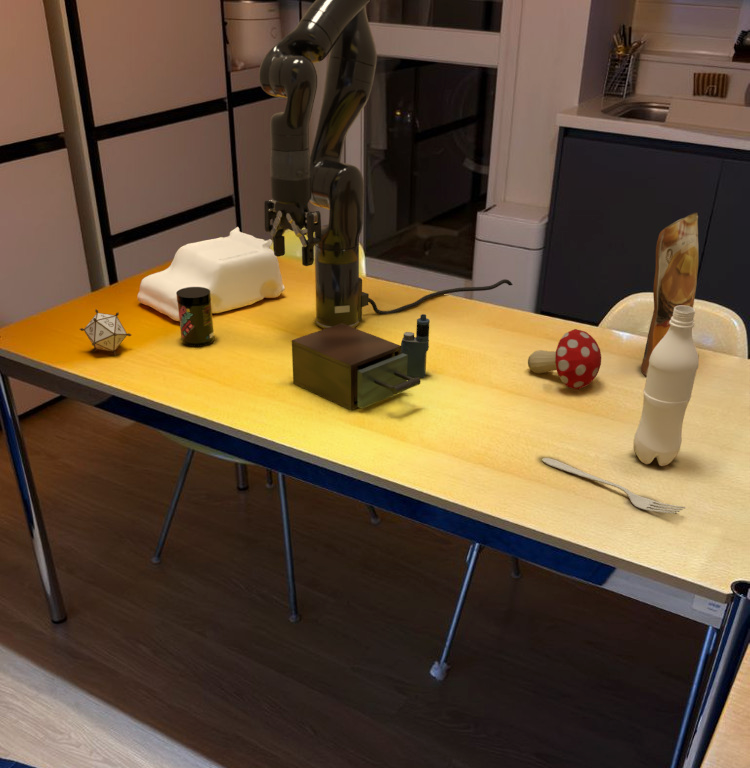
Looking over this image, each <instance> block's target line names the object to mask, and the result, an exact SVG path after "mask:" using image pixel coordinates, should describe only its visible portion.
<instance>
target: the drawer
mask: <svg viewBox="0 0 750 768" xmlns="http://www.w3.org/2000/svg"><path fill="white" fill-rule="evenodd" d="M407 361H408V355H406V354H404V353H402V354H400V355H397V356H395V353H392V354H389V355H386V356H384V357H381V358H378V359H376V360H373V361H371V362H368V363H365V364H363V365H360V366H358V367H355V368H354V401H357V406H358V407H357V408H360V409H364V408H366V407H369V406H371V405H374V404H376V403H379V402H380V401H383V400H385V399H387V398H390V397H392V396H395V395H398V394H400V393H403V392H405V391H407V390H410V389H412V388H414V387H417V386H419V385H420V384H421V378H418V377H409V376H407Z"/></svg>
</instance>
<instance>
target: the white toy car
mask: <svg viewBox="0 0 750 768" xmlns="http://www.w3.org/2000/svg"><path fill="white" fill-rule="evenodd" d="M272 244H273V239H270V238H269V239H267V240H265V239H263V238H257V237H255V236H254V235H252V234H248V233H246V232H245V233H244V232H241V231H240V228H239V226H237V227H235V228H234V229H232V230H231V231H229V235H228V236H224V237H223V236H220V237H217V238H211V239H205V240H201V241H196V242H190V243H186V244H184V245H182V246H181V247H179V248H178V249H177V251H176V252H175V254H174V257H173V259H172V262H171V264H170V265H169V266H168V267H167V268H165V269H164V270H161V271H157V272H154V273H151V274H149V275H146V276H145V277H143V278H142V279H141V281H140V284H139V291H138V293H137V296H136V297H137V301H138V302H139V303H140V304H143V305H145V306H148V307H151V308H152V309H154V310H155V311H157V312H158V313H160V314H163V315H165V316H168V317H169V318H170V319H171V320H173V321H176V322H180V321H179V312H178V303H177V295H176V292H177V291H178V290H180V289H183V288H187V287H203V288H207V289H209V290H210V294H211V307H212V315H213V314H221V313H223V312H228V311H231V310H236V309H240V308H243V307H247V306H250V305H253V304H256V302H259V301H262V300H264V298H266V299H274V298H278V297H280V295H281V294H282V293H284V292H285V291H286V290H285V289H286V286H285V285H284V283H283V276H282V272H281V268H280V264H279V259H278V257H277V256H275V255H274V250H273V249H272V248H270V247H271V246H272Z"/></svg>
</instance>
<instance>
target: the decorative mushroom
mask: <svg viewBox="0 0 750 768" xmlns="http://www.w3.org/2000/svg"><path fill="white" fill-rule="evenodd" d="M557 343H558V344H557V345H556V346H557V347H556V350H554V351H549V350H542V349H539V350H535V351H533V352H532V353H531V354H530V355H529V356H528V359H527V365H528V366H527V367H528V369H529V370H530V371H532V372H533V373H534V374H545V373H549V372H552V371H556V373H557V375H558V378H560V381H561V382H562V383H563V385H565V386H566V387H567V388H569V389H572V390H577V391H578V390H580V389H584V387H587V386H589V385H590V384H591V383H592V382H593V381H594V380H595V378H596V377H597V375H598V374H599V372H600V368H601V366H602V365H601V364H602V352H601V348H600V346H599V344H598V343H597V340H596V339H594V337H593V336H592V335H591V334H590V333H588V332H587V331H584V330H581V329H577V328H574V329H572V330H568V331H567V332H565V333H564V334H563V335H562V337H561V338H560V339H559V341H558V342H557Z"/></svg>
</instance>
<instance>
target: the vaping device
mask: <svg viewBox="0 0 750 768" xmlns="http://www.w3.org/2000/svg"><path fill="white" fill-rule="evenodd" d="M400 342H401V343H400V346H401V354H402V353H404V354H406V355H408V361H407V376H409V377H412V378H415V377H418V378H419V379H424V378H425V377H426V376H427V373H426V372H427V354H428V353H427V352H428V351H429V348H430V318H427V315H426V314H424V313H422V314H420V317H418V318H417V319H416V335H415V333H414V332H413V331H405V332H404V333H403V337H402V340H401V341H400Z"/></svg>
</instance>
